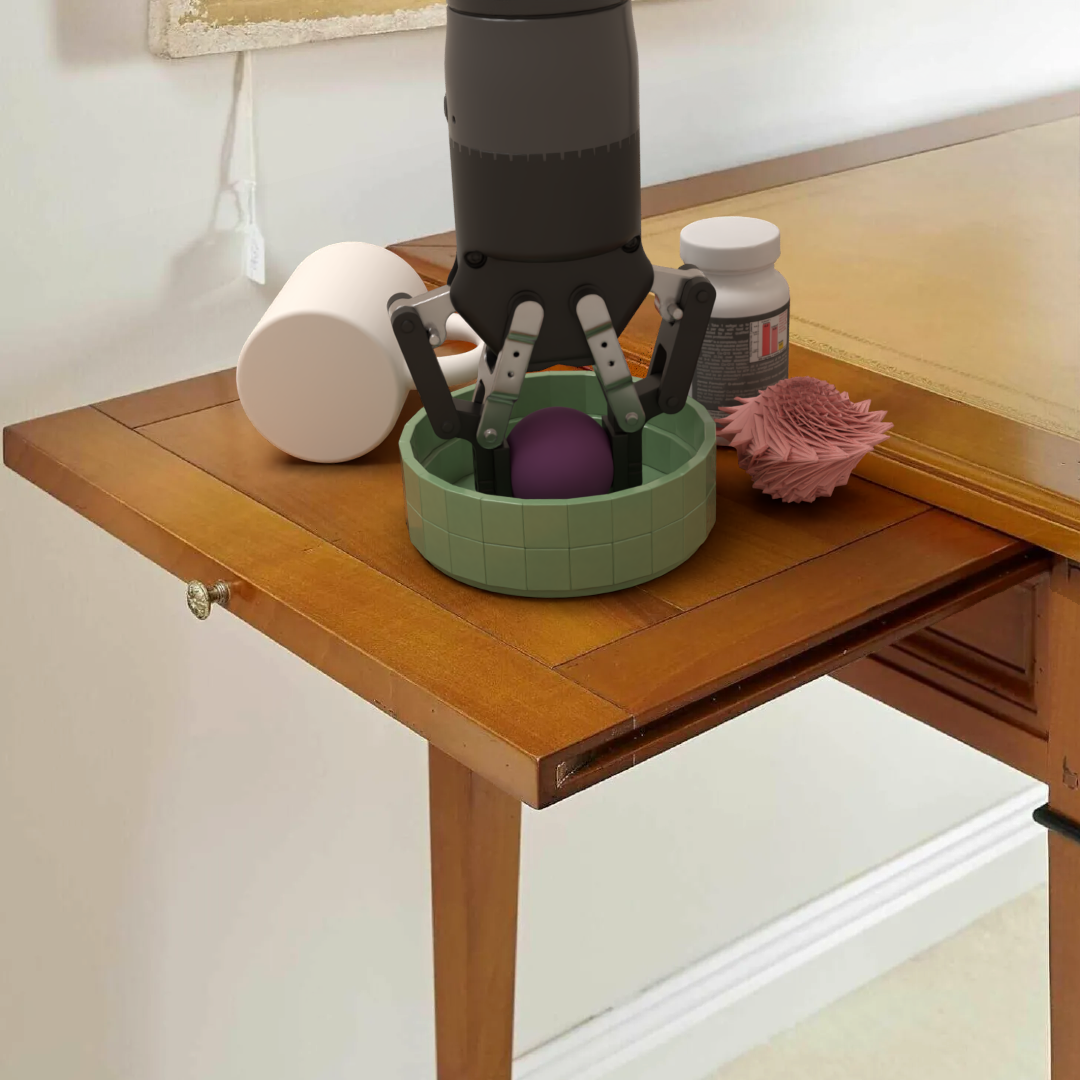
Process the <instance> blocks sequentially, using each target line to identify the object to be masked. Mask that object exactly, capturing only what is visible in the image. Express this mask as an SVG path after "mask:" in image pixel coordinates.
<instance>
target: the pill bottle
mask: <svg viewBox="0 0 1080 1080" xmlns="http://www.w3.org/2000/svg"><path fill="white" fill-rule="evenodd" d="M781 252H782V251H781V230H780V228H779V227H778V226H777V225H776V224H774V223H773V222H770V221H768V220H765V219H761V218H756V217H751V216H750V217H749V216H741V215H740V216H739V215H737V216H736V215H733V216H731V215H729V216H728V215H727V216H725V215H724V216H714V217H709V218H702V219H698V220H695V221H693V222H691V223H689V224H687V225H686V226H684V227H683V228H682V229H681V230H680V233H679V258H680V259H681V261H682V262H683V265H684V264H693V265H695V266H697V267H698V268H699V270H700V271H702V272H703V273H704V275H705V276H706V277H707V278H708V279H709V281H710V282H711V284H712V285H713V286H714V288H715V290H716V300H715V303H714V307H713V310H712V313H711V317H710V320H709V324H708V327H707V331H706V334H705V338H704V341H703V345H702V348H701V352H700V355H699V359H698V362H697V366H696V369H695V372H694V376H693V379H692V383H691V386H690V390H689V393H688V395H689V396H690V397H692V398H693V399H695V400H696V401H697V402H699V403H700V404H702V405H703V406H704V407H705V408H706V409H707V411H708V412H709V414H710V415H711V417H712V418H713V419H723V418H726V417H728V416H730V414H728V413H726V412H724V411H720V410H719V409H718V407H734V406H740V405H743V404H742V403H741V402H740V401H737V400H734V398H735V397H740V398H752V397H757V396H759V395H760V393H759V392H758V390H763V391H764V390H766V389H767V387H768V386H773V385H775V384H776V383H778V382H779V381H780V380H784V379H789V370H790V369H789V366H790V365H789V362H790V361H789V360H790V321H791V292H790V291H791V290H790V286H789V282H788V281H787V279H786V278H785V276H784V275H783V274H782V273H781V272H780V271H778V270H777V269H776V268H775V263H776V262H777V261H778V259H779V258H780V257H781ZM715 423H716V431H721V430H723V429H724V428H725V427H723V426H722V425H721V424H719V423H718V422H715ZM730 443H731V442H730V441H728V440H726V439H724V438H723V437H721V436H719V435H716V446H718V447H730V446H729V444H730Z"/></svg>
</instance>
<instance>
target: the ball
mask: <svg viewBox="0 0 1080 1080" xmlns="http://www.w3.org/2000/svg"><path fill="white" fill-rule="evenodd" d="M506 440H507V443H508V445H509V448H510V466H511V484H512V498H519V499H572V498H580V497H588V496H597V495H605V494H607V493H608V491H609V489H610V487H611V485H612V482H613V471H614V468H613V458H612V451H611V445H610V441H609V438H608V435H607V433H606V432H605V430H604V429H603V428H602V427H601V425H600V424H599V423H598V422H596V421H595V420H594V419H593V418H592V417H590V416H589V415H587V414H585V413H583V412H581V411H579V410H576V409H573V408H568V407H548V408H543V409H540V410H537V411H535V412H533V413H531V414H529V415H527V416H526V417H524V418H523V419H522V420H520V421H519V422H518V423H517V424H516V425H515V426H514V428H513V429H512V430H511V432H510V433H509V435H508V436H507V439H506Z"/></svg>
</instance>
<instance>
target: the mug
mask: <svg viewBox="0 0 1080 1080" xmlns="http://www.w3.org/2000/svg"><path fill="white" fill-rule="evenodd" d="M401 292H403V293H407V294H409V295H411V296H412V297H416V296H418V295H421V294H423V293H426V292H429V290H428V288H427V286H426V285H425V283H424V281H423V279H422V278H421V276H420V275H419V274H418V272H417V271H416V270H415V269H414V268H413V267H412V266H411V265H410V264H409V263H408V262H407V261H406V260H405V259H404V258H402V257H400V256H399V255H397V254H396V253H395V252H393V251H391V250H389V249H387V248H385V247H382V246H380V245H377V244H373V243H369V242H364V241H342V242H336V243H332V244H328V245H326V246H323V247H321V248H319V249H317V250H316V251H314V252H312V253H310V254H309V255H308V256H307V257H305V258H304V259H303V260H302V261H301V262H300V263H299V264H298V265H297V267H296V268H295V270H294V271H293V272H292V274H291V275H290V277H288V280H287V281H286V282H285V283H284V285H283V286H282V288H281V289H280V291H279V292H278V294H277V295H276V297H275V298H274V299H273V301H272V302H271V304H270V305H269V307H268V308H267V310H266V311H265V312H264V314H263V315H262V317H261V318H260V319H259V321H258V323H257V324H256V325H255V327H254V328H253V330H252V331H251V333H250V334H249V336H248V337H247V338H246V340H245V342H244V344H243V346H242V348H241V350H240V353H239V356H238V360H237V363H236V372H235V373H236V374H235V381H236V389H237V394H238V398H239V401H240V404H241V407H242V409H243V411H244V414H245V415H246V417H247V419H248V420H249V422H250V423H251V424H252V426H253V428H254V429H255V430H256V431H257V432H258V433H259V434H260V435H261V436H262V437H263V438H264V439H265V440H266V441H267V442H268V443H270V444H271V445H273V446H274V447H275V448H276V449H278V450H280V451H282V452H284V453H286V454H287V455H290V456H292V457H294V458H296V459H300V460H304V461H307V462H313V463H319V464H320V463H321V464H335V463H344V462H349V461H353V460H355V459H358V458H360V457H362V456H364V455H366V454H368V453H370V452H372V451H373V450H375V449H376V448H377V447H378V446H379V445H380V444H382V443H383V442H384V441H385V440H386V439H387V437H388V436H389V435H390V433H391V432H392V431H393V429H394V427H395V426H396V423H397V421H398V420H399V417H400V414H401V412H402V410H403V408H404V406H405V403H406V401H407V398H408V396H409V393H410V391H417V389H416V386H415V384H414V381H413V379H412V376H411V374H410V371H409V369H408V366H407V364H406V361H405V359H404V356H403V354H402V351H401V349H400V347H399V344H398V342H397V339H396V337H395V334H394V332H393V328H392V325H391V321H390V318H389V314H388V311H387V302H388V300H389V298H390V297H391V296H392V295H394V294H396V293H401ZM446 331H447V337H446V340H445V341H459V342H460V341H463V342H467V343H471V344H474V345H475V346H476V347H475V348H474V349H471V350H469V351H467V352H463V353H458V354H452V355H446V356H444V355H443V356H436V357H437V359H438V362H439V364H440V367H441V369H442V372H443V374H444V377H445V379H446V382H447V385H448V387H449V388H450V387H453V386H459V385H463V384H467V383H470V382H474V381H477V379H478V367H479V361H480V357H481V353H482V350H483V346H484V342H483V340H482V339H481V338H480V337H479V336H478V335H477V334H476V333H475V332H474V330H473V329H472V328H471V327H470V326H469V325H468V324H467V323H466V322H465V321H464V319H463V318H462V317H461V316H460V315H459V314H458V313H457V312H455V313H453V314H451V315H450V316H449V318H448V319H447V322H446Z"/></svg>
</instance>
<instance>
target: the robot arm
mask: <svg viewBox="0 0 1080 1080" xmlns="http://www.w3.org/2000/svg"><path fill="white" fill-rule="evenodd" d="M445 3H446V4H447V5H446V7H445V9H446V11H445V12H446V30H445V41H444V43H445V44H444V60H443V61H444V63H443V65H444V69H443V70H444V85H445V87H444V88H445V93H444V96H443V113H444V117H445V119H446V121H447V128H448V130H447V131H448V144H449V157H450V158H449V160H450V173H451V186H452V188H451V189H452V200H453V216H454V217H453V218H454V230H455V231H454V232H455V245H456V246H455V247H456V253H455V258H454V262H453V265H452V267H451V269H450V271H449V273H448V276H447V279H446V284H444V285H442V286H439V287H436V288H434V289H431V290H428V292H426V293H423V294H421V295H418V296H416V297H412V296H411V295H409V294H407V293H403V292H401V293H396V294H394V295H392V296H391V297H390V298H389V300H388V302H387V311H388V314H389V318H390V321H391V325H392V328H393V332H394V334H395V337H396V339H397V342H398V344H399V347H400V349H401V351H402V354H403V356H404V359H405V361H406V364H407V366H408V369H409V371H410V374H411V376H412V379H413V381H414V384H415V386H416V389H417V390H416V391H417V394H418V396H419V397H420V398H419V399H420V401H421V403H422V406H423V407H424V408H425V411H426V413H427V416H428V418H429V421H430V423H431V426H432V428H433V431H434V433H435V434H436V436H438V437H439V438H441V439H444V440H449V439H453V438H455V437H456V438H461V439H465V440H467V441H469V442H470V443H471V444H472V454H473V467H474V483H475V490H476V492H480V493H483V494H487V495H495V496H503V497H511V498H512V484H511V466H510V448H509V445H508V443H507V440H506V438H505V434H506V431H507V427H508V423H509V420H510V416H511V413H512V409H513V406H514V403H515V402H517V400H518V399H519V396H520V393H521V389H522V386H523V382H524V378H525V375H526V374H527V373H536V372H543V371H545V370H547V369H549V368H552V367H556V366H558V365H559V366H566V367H572V368H573V367H574V368H581V367H590V366H591V367H592V369H593V370H592V371H594V372H595V374H596V377H597V380H598V382H599V385H600V387H601V390H602V392H603V395H604V398H605V400H606V403H607V415H604V416H601V417H602V428H603V429H604V430H605V432H606V433H607V435H608V438H609V441H610V445H611V451H612V458H613V468H614V471H613V482H612V485H611V487H610V489H609V491H608V493H607V494H610V493H614V492H618V491H622V490H626V489H630V488H633V487H637V486H641V485H642V483H643V475H642V430H643V427H644V425H645V424H646V423H647V422H648V421H649V420H650V419H651V418H653V417H655V416H657V415H660V414H662V413H666V414H676V413H678V412H680V411H681V410H682V409H683V408H684V406H685V404H686V400H687V397H688V393H689V390H690V386H691V383H692V379H693V376H694V372H695V369H696V366H697V362H698V359H699V355H700V352H701V348H702V345H703V341H704V338H705V334H706V331H707V327H708V324H709V320H710V317H711V313H712V310H713V307H714V303H715V300H716V290H715V288H714V286H713V285H712V284H711V282H710V281H709V279H708V278H707V277H706V276H705V275H704V273H703V272H702V271H700V270H699V268H698V267H697V266H695V265H693V264H684V263H683V264H682V265H680V266H679V267H678V268H673V267H668V266H663V265H657V264H652V262H651V260H650V259H649V257H648V256H647V253H646V251H645V249H644V246H643V242H642V241H643V240H642V184H641V182H642V181H641V179H642V177H641V176H642V175H641V173H642V171H641V123H640V122H641V121H640V120H641V115H640V113H641V111H640V109H641V108H640V105H641V104H640V63H639V51H638V43H637V36H636V30H635V29H636V28H635V23H634V16H633V15H634V14H633V4H632V3H633V2H632V0H445ZM650 293H652V294H654V302H653V303H654V308H655V310H656V311H657V313H658V314H659V316H660V317H661V321H660V325H659V329H658V332H657V336H656V339H655V343H654V346H653V350H652V354H651V357H650V361H649V364H648V369H647V372H646V375H645V377H642V378H643V379H641V380H639V381H637V382H635V383H633V379H632V376H633V375H632V373H631V370H630V368H629V365H628V363H627V360H626V357H625V354H624V352H623V350H622V346H621V344H620V342H619V338H620V336H621V335H622V334H623V332H624V331H625V329H626V327H628V325H629V323H630V322H631V321H632V319H633V318H634V316H635V314H636V313H637V311H638V310H639V309H640V307H641V306H642V304H643V303H644V301H645V300H646V298H647V296H648V295H649V294H650ZM453 313H456V314H459V315H460V316H461V317H462V318H463V319H464V321H465V322H466V323H467V324H468V325H469V326H470V327H471V328H472V329H473V330H474V332H475V333H476V334H477V335H478V336H479V337H480V338H481V339H482V340H483V342H484V346H483V350H482V353H481V357H480V361H479V367H478V379H476V386H475V390H474V394H473V397H472V401H466V400H462V399H457V398H453V397H452V395H451V392H452V391H451V390H450V386H449V387H448V385H447V382H446V379H445V377H444V374H443V372H442V369H441V367H440V364H439V362H438V359H437V357H438V356H437V354H436V351H435V350H434V349H436V348H438V347H441V346H442V345H443V344H444V343H445V341H447V340H446V337H447V331H446V322H447V319H448V318H449V316H450V315H451V314H453Z"/></svg>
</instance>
